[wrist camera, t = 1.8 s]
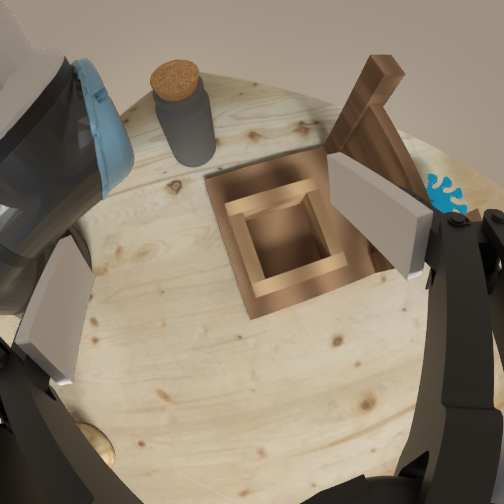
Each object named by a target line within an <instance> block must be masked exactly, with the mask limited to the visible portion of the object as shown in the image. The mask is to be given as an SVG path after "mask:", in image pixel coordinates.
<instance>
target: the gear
mask: <svg viewBox="0 0 504 504" xmlns="http://www.w3.org/2000/svg"><path fill="white" fill-rule="evenodd" d="M428 180H429V184H428V187H427V189H426V191H427V193H428V196H429V198H430V200H431V203H432V205H433V206H434V207H436V208H437V209H439V210H440V211H441V212H443V213H446V212H453V210H454V209H458V210H459V212H460V214H463V215H464V214H466V213H467V206H466V205H456V204H454V203H452V202H451V201H450V199H451V197H456V198H458V199H462V198H463V195H462V191H461V189H460V188H457V189H456V190H455V191H453V192H451V193H444V192H443V188H445V187H451V186H452V182H451V180H450V179H449V178H448V177H444V179H443V182H442V184H441V185H440V186H439V187H438V188H436V189H433V188H432V185H433V184H434V183H436V182H437V176H436V175H434V174H429V175H428ZM422 182H423V181H422Z"/></svg>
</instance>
